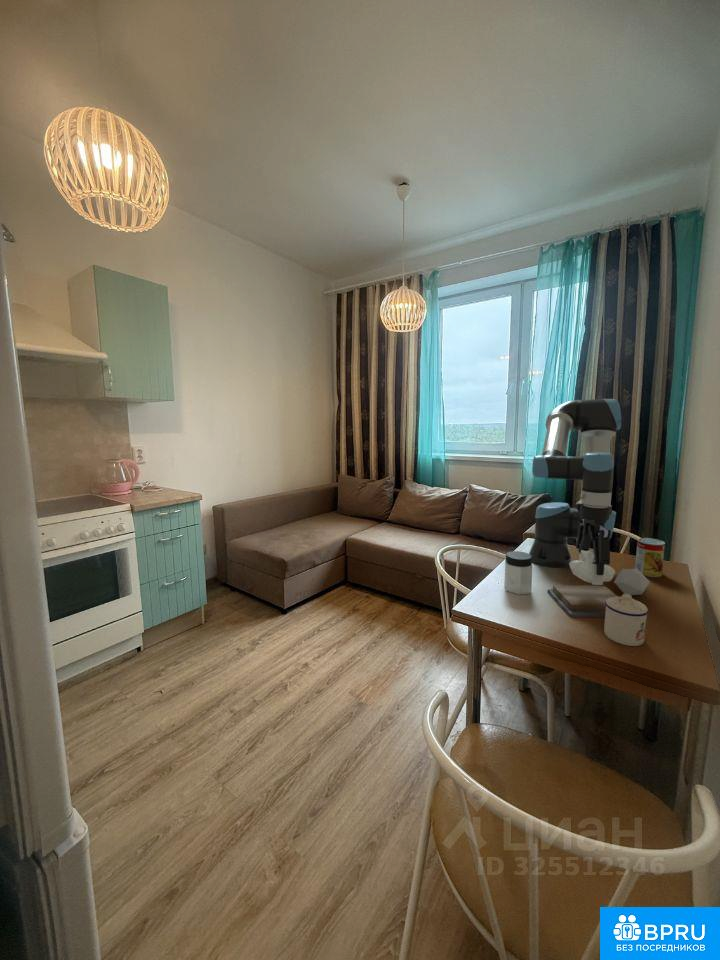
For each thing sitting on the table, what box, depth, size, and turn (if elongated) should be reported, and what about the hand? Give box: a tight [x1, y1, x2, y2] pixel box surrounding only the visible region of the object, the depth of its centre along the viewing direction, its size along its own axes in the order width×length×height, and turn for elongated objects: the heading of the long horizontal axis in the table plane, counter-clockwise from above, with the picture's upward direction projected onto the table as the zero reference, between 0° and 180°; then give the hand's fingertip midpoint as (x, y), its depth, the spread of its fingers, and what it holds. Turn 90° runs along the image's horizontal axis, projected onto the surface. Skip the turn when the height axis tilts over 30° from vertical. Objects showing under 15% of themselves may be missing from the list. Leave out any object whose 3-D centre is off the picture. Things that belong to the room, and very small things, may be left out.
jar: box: [503, 550, 533, 595], centre depth 128 cm, size 9×8×12 cm
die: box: [613, 568, 650, 596], centre depth 123 cm, size 8×9×10 cm
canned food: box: [634, 537, 666, 578], centre depth 138 cm, size 8×8×12 cm
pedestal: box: [547, 584, 619, 618], centre depth 117 cm, size 16×18×3 cm
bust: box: [569, 548, 616, 584], centre depth 115 cm, size 12×8×11 cm
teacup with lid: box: [603, 593, 649, 647], centre depth 100 cm, size 12×9×12 cm
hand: (590, 578), depth 116 cm, fingers closed on bust, 7 cm apart
